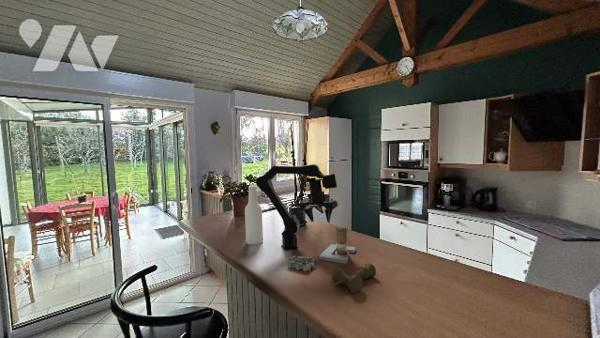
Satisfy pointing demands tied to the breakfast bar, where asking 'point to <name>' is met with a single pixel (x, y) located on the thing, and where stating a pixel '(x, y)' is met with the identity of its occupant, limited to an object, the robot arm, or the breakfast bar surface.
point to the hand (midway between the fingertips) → (320, 222)
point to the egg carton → (298, 262)
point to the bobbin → (342, 241)
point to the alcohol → (253, 219)
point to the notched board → (330, 256)
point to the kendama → (353, 277)
